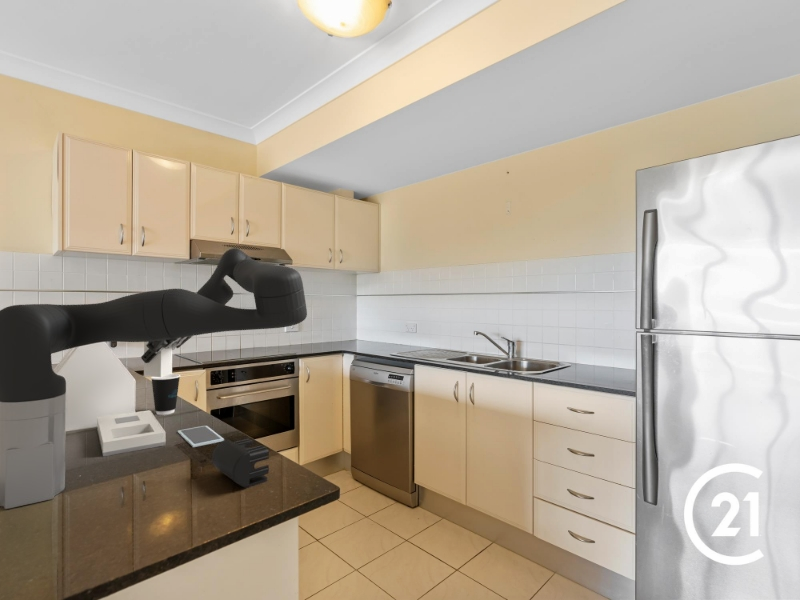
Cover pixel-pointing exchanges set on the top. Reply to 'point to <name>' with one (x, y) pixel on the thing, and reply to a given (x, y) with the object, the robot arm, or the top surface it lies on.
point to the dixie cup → (165, 393)
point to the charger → (159, 363)
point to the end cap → (241, 462)
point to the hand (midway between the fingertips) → (151, 358)
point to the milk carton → (95, 385)
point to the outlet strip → (129, 432)
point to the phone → (200, 436)
